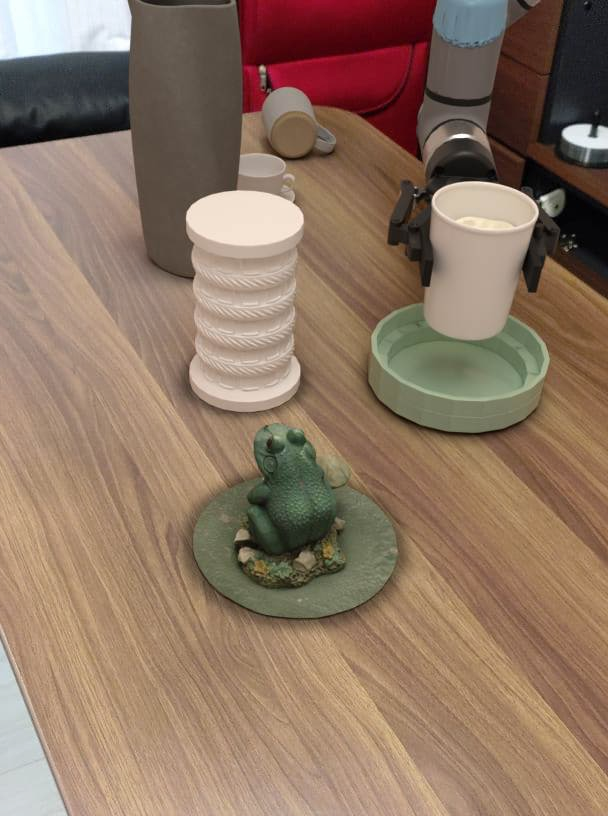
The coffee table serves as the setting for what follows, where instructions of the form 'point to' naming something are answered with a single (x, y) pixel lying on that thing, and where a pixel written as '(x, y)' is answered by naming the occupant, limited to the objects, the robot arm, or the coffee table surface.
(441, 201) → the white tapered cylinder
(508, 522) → the coffee table surface
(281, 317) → the decorative container
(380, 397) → the bowl
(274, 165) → the teacup
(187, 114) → the vase
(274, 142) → the ceramic mug
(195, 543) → the frog figurine
